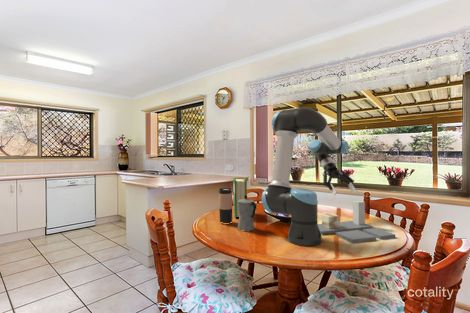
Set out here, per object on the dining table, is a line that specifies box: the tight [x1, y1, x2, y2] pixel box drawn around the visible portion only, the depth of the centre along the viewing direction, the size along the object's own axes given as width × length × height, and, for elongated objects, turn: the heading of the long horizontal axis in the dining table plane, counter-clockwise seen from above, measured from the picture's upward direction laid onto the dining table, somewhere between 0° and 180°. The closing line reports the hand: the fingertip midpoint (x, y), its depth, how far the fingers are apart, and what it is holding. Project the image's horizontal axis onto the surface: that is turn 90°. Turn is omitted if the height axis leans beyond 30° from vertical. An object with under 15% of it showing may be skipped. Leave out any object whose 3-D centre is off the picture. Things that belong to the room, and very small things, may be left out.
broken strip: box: [335, 227, 396, 244], centre depth 119 cm, size 24×11×2 cm, turn 105°
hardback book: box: [232, 177, 248, 218], centre depth 164 cm, size 18×7×24 cm, turn 3°
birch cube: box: [321, 213, 340, 229], centre depth 130 cm, size 6×6×6 cm
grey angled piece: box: [318, 200, 374, 236], centre depth 131 cm, size 30×12×14 cm, turn 105°
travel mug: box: [218, 187, 233, 223], centre depth 146 cm, size 8×8×20 cm
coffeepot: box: [237, 195, 257, 232], centre depth 133 cm, size 15×9×18 cm, turn 33°
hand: (345, 193), depth 144 cm, fingers open, 13 cm apart
